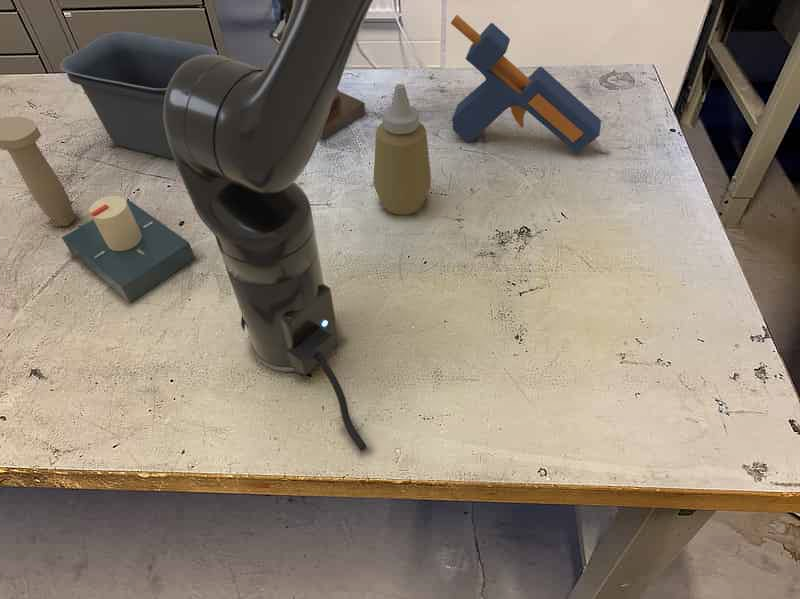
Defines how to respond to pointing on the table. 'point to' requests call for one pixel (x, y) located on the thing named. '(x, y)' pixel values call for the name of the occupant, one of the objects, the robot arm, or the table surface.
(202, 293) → the table surface
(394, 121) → the squeeze bottle
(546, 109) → the glue gun
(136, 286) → the dial panel
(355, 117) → the button block
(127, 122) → the storage bin
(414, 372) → the table surface
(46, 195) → the handle
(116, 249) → the dial
